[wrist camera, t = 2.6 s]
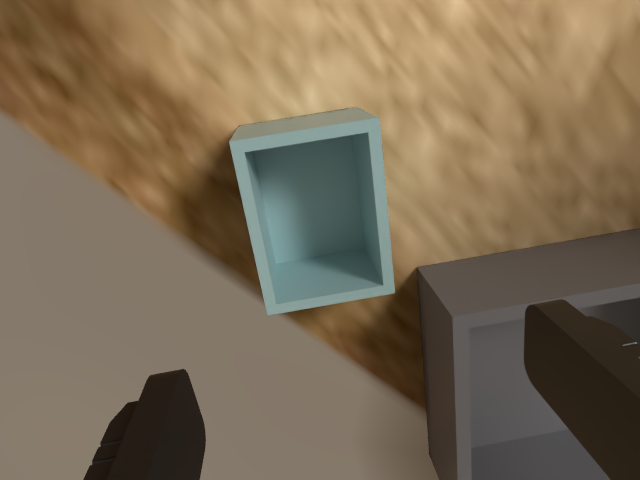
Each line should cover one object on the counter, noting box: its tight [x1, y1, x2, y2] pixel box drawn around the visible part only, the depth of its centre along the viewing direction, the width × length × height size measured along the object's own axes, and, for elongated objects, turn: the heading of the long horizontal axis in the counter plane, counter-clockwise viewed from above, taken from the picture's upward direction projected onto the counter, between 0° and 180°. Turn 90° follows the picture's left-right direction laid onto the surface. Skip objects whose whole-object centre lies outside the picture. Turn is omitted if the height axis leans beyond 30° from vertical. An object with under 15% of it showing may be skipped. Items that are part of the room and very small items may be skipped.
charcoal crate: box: [417, 228, 640, 480], centre depth 26 cm, size 15×15×6 cm
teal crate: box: [229, 107, 395, 315], centre depth 21 cm, size 8×6×5 cm
